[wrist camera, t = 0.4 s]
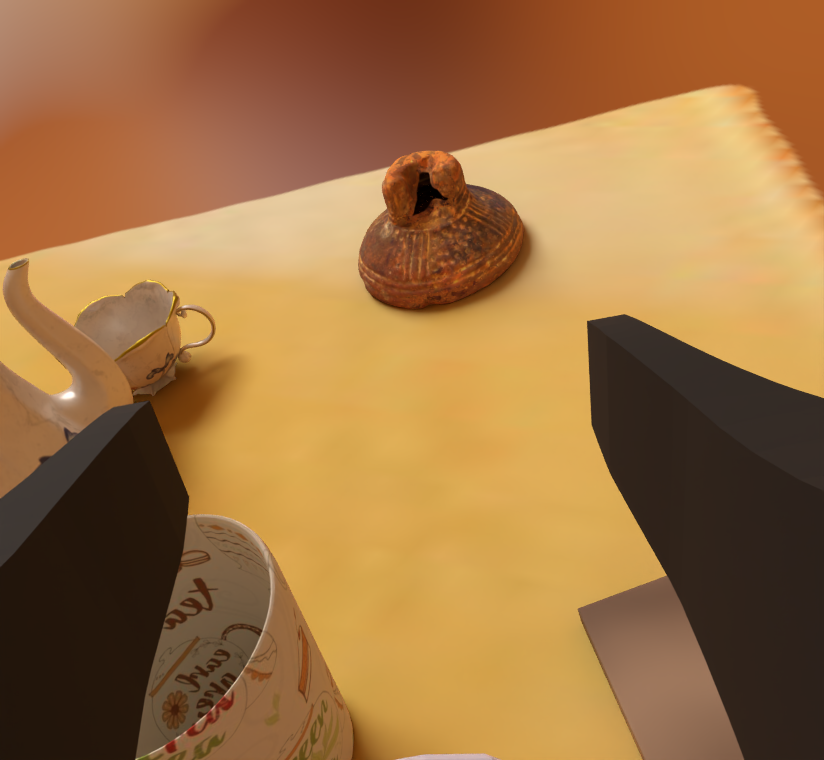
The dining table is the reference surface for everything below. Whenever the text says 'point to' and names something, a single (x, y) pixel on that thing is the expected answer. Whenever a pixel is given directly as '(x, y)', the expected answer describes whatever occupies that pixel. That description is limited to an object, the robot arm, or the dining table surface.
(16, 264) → the chinaware
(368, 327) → the dining table surface
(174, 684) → the mug
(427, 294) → the bell
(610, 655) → the stand
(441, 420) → the dining table surface
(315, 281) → the dining table surface
